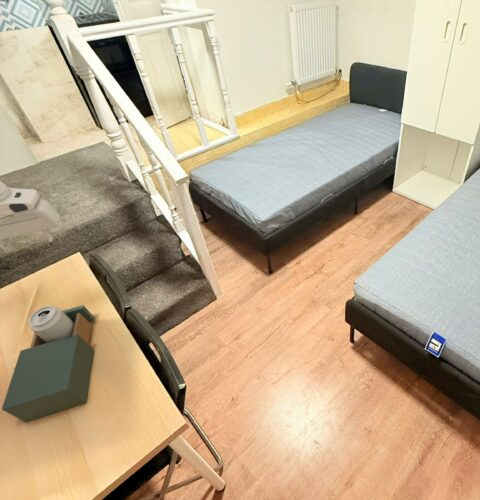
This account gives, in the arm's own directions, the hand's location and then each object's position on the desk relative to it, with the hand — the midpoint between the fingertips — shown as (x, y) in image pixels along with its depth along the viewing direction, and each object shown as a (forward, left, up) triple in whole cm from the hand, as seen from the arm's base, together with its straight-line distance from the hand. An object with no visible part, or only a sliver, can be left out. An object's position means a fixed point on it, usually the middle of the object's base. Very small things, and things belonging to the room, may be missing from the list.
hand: (30, 245), depth 91 cm
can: (0, -16, -23) cm, 28 cm away
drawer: (0, -17, -24) cm, 29 cm away
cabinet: (0, -29, -25) cm, 38 cm away
